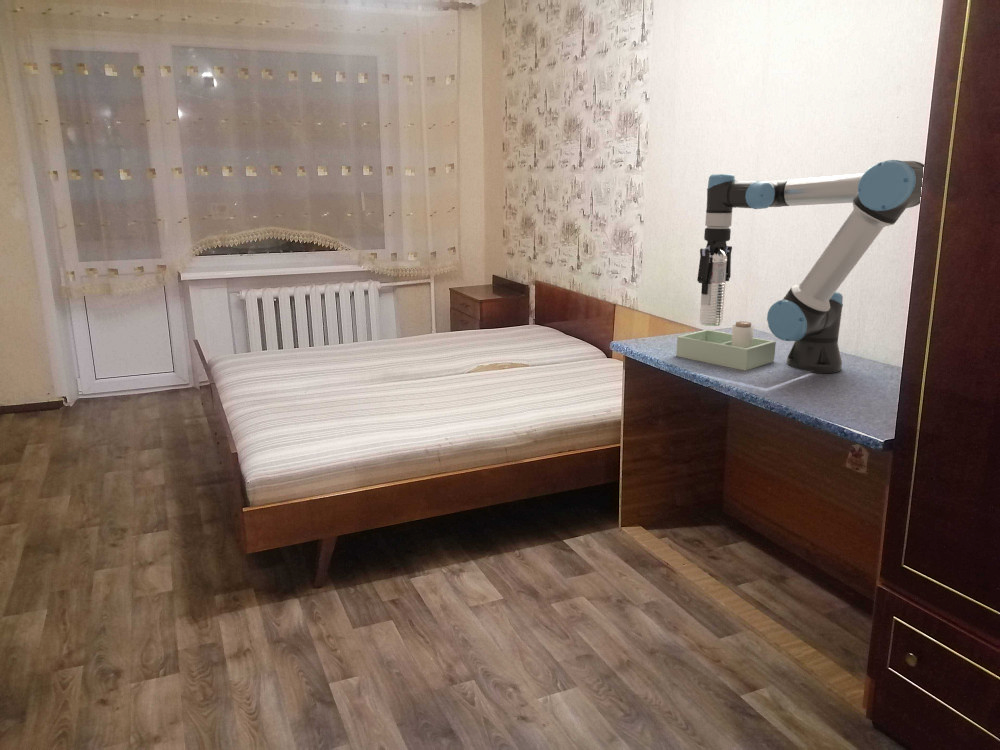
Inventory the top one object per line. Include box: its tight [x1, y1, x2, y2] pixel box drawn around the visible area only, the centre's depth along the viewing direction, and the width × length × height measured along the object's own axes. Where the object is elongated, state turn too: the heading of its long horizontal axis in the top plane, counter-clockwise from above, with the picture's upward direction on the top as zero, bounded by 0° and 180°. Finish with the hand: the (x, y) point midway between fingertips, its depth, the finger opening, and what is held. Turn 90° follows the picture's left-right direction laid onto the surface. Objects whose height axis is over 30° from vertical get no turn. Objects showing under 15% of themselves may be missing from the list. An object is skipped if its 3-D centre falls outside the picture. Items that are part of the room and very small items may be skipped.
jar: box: [731, 320, 755, 348], centre depth 226 cm, size 6×6×12 cm
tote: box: [675, 329, 777, 372], centre depth 230 cm, size 24×16×7 cm, turn 41°
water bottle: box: [699, 249, 727, 327], centre depth 229 cm, size 7×7×25 cm
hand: (712, 303), depth 231 cm, fingers closed on water bottle, 7 cm apart
